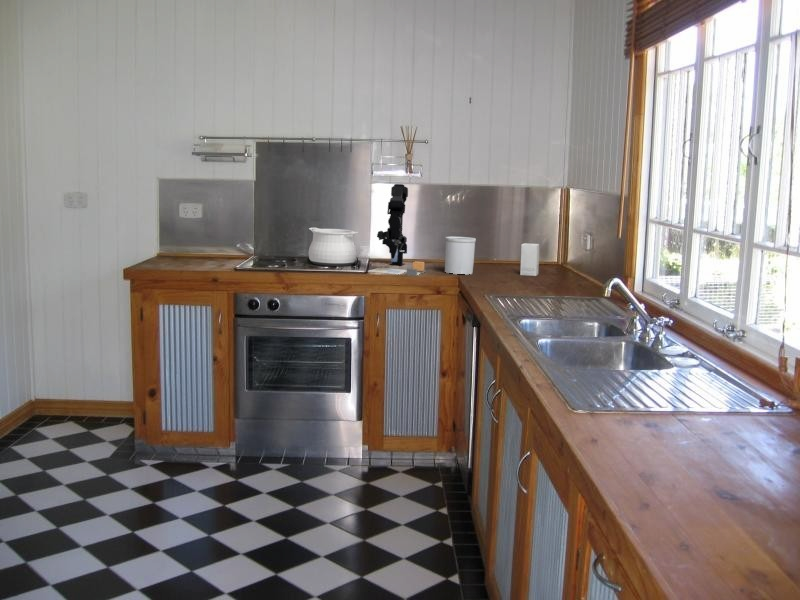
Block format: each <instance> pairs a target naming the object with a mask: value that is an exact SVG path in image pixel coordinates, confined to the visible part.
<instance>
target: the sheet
mask: <svg viewBox="0 0 800 600" xmlns="http://www.w3.org/2000/svg"><path fill="white" fill-rule="evenodd" d="M367 272H368V273H378V274H387V275H388V274H390V275H398V274H399V275H402V274H405V273H407V269H402V268H401V269H399V268H388V267H377V268H376V267H375V268H372V269H369V270H367ZM404 272H405V273H404Z"/></svg>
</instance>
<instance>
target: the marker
mask: <svg viewBox="0 0 800 600" xmlns="http://www.w3.org/2000/svg"><path fill="white" fill-rule="evenodd" d="M397 245H398V244H397ZM397 256H398V249H397V252H396V254H395V257H394V259H393V258H392V257H391V256H390V263H392V262H397Z"/></svg>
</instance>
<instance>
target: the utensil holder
mask: <svg viewBox="0 0 800 600" xmlns="http://www.w3.org/2000/svg"><path fill="white" fill-rule="evenodd" d="M476 241H477V239H476V238H475V237H468V236H467V237H466V236H445V251H444V253H445V255H444V257H445V259H444V273H445V272H446V274H449V273H453V274H452V275H457V274H465V276H466V275H469V274H470V275H473V271H474V264H475V251H476V250H475V249H476V243H477V242H476Z"/></svg>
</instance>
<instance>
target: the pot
mask: <svg viewBox="0 0 800 600" xmlns="http://www.w3.org/2000/svg"><path fill="white" fill-rule="evenodd" d="M308 230H310V231H311V232H312V241H311V243H310V245H309V247H308V248H309V249H308V258H309V260H310V262H311V263H312V264H314V265H316V266H322V265H324V266H323V267H349V266H352V265H354V263H355V262H356V259H357V248H356V245H355V243H354V236H355V235H356V234H359V231H355V230H350V229H343V228H341V229H340V228H319V227H309V228H308Z"/></svg>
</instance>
